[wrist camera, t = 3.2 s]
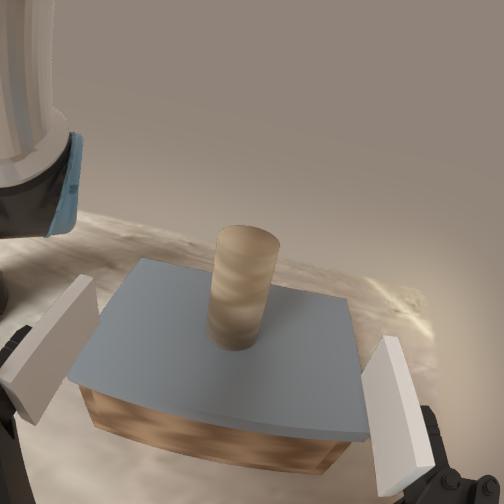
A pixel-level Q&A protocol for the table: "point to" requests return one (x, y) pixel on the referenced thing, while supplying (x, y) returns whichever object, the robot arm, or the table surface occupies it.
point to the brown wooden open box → (210, 438)
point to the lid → (230, 346)
